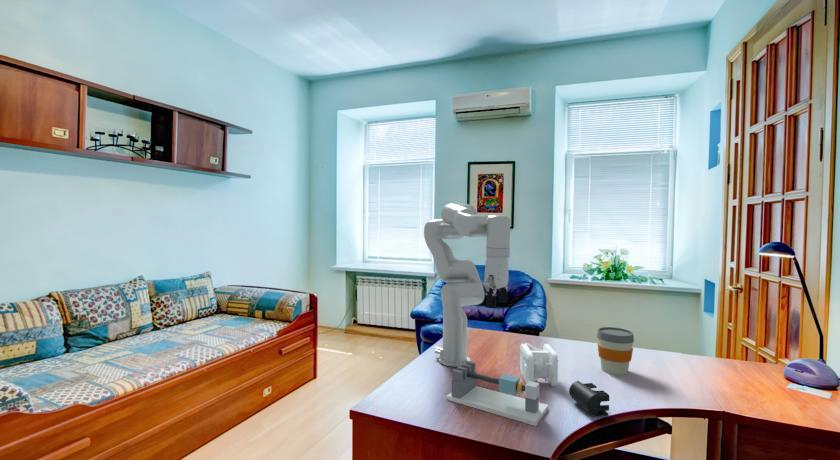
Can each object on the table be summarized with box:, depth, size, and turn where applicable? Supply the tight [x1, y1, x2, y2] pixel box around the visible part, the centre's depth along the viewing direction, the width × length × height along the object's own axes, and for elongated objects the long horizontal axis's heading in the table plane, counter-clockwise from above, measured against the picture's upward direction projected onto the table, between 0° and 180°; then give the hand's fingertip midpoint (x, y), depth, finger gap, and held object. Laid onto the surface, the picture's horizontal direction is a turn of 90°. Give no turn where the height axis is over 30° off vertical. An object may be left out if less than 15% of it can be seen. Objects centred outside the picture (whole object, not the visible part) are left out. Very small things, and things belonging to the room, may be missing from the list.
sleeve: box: [498, 373, 521, 396], centre depth 118 cm, size 5×4×4 cm
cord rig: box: [446, 361, 549, 427], centre depth 121 cm, size 28×12×9 cm, turn 57°
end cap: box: [568, 380, 610, 418], centre depth 118 cm, size 10×7×7 cm
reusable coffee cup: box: [596, 326, 635, 376], centre depth 150 cm, size 13×13×15 cm
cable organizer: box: [519, 343, 559, 388], centre depth 139 cm, size 15×11×12 cm
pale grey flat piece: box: [524, 342, 543, 351], centre depth 170 cm, size 25×24×1 cm
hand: (496, 305), depth 130 cm, fingers open, 9 cm apart
